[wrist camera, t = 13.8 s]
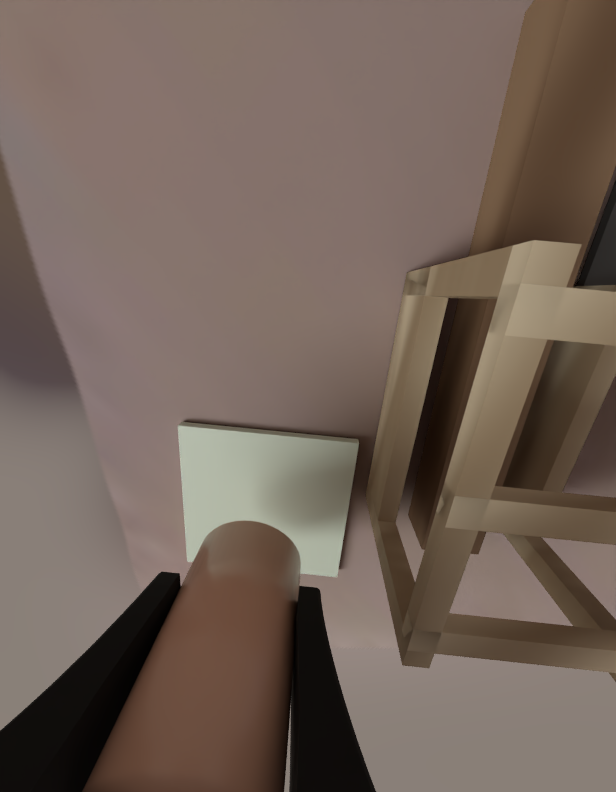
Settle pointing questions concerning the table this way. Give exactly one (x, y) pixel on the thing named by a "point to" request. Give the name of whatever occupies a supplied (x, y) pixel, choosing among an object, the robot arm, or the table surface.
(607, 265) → the mat
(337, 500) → the pad
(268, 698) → the cylinder
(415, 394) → the wooden ladder stand
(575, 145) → the rod
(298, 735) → the robot arm
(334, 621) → the table surface
